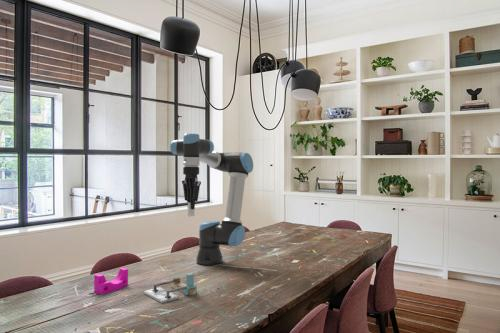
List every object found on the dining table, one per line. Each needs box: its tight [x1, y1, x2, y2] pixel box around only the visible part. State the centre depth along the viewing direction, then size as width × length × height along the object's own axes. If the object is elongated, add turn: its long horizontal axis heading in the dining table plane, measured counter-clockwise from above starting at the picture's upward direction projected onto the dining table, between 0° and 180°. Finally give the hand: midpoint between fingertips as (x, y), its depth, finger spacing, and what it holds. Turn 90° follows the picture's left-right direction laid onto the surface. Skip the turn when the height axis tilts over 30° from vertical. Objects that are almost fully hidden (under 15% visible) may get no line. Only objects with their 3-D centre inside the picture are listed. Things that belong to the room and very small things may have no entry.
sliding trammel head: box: [166, 272, 198, 297], centre depth 165 cm, size 14×3×8 cm, turn 132°
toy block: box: [93, 267, 129, 295], centre depth 175 cm, size 15×6×8 cm, turn 143°
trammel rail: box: [153, 277, 197, 296], centre depth 169 cm, size 13×16×4 cm
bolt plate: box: [143, 286, 180, 304], centre depth 165 cm, size 8×16×1 cm, turn 42°
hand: (191, 215), depth 181 cm, fingers closed
